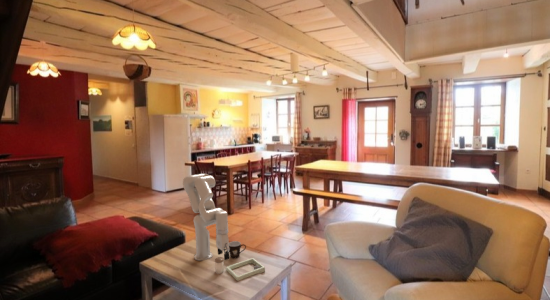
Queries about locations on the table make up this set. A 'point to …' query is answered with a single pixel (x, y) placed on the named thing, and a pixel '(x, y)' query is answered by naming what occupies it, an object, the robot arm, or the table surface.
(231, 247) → the coffee mug
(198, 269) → the table surface
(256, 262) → the tray frame
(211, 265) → the table surface
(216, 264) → the cylinder
